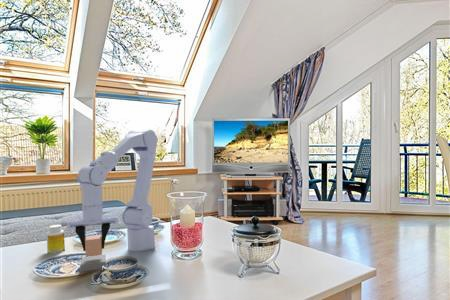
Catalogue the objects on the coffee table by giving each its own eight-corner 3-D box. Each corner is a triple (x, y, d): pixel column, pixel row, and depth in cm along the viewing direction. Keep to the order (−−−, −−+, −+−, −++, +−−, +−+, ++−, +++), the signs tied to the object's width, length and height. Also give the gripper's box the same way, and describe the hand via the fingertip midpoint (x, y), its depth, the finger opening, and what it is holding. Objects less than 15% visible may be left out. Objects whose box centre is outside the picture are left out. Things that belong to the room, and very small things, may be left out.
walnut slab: (108, 266, 103) (108, 260, 103) (108, 275, 96) (108, 269, 96) (81, 270, 101) (81, 263, 101) (79, 280, 93) (78, 273, 93)
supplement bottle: (66, 254, 114) (65, 225, 114) (49, 258, 110) (48, 228, 110) (62, 250, 118) (61, 223, 118) (46, 253, 115) (44, 225, 114)
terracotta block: (102, 250, 101) (101, 234, 101) (101, 254, 97) (101, 238, 96) (86, 252, 99) (86, 236, 99) (85, 256, 95) (85, 240, 95)
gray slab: (105, 260, 103) (105, 254, 103) (105, 268, 96) (105, 261, 96) (82, 264, 100) (81, 257, 100) (80, 272, 94) (80, 265, 94)
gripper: (64, 209, 91) (66, 256, 92) (117, 205, 96) (118, 249, 97) (67, 205, 98) (69, 248, 98) (117, 201, 103) (118, 242, 103)
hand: (94, 248), depth 98 cm, fingers closed on terracotta block, 4 cm apart
